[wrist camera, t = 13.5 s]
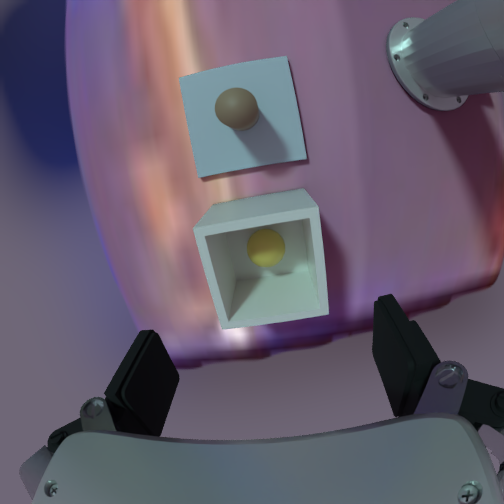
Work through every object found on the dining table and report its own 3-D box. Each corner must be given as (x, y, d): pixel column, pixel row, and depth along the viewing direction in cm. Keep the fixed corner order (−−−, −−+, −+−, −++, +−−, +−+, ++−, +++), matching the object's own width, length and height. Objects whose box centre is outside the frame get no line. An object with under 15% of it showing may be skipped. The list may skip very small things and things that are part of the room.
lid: (286, 58, 25) (290, 38, 19) (305, 158, 29) (315, 161, 23) (181, 79, 26) (161, 65, 20) (200, 176, 30) (184, 185, 24)
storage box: (303, 188, 29) (318, 206, 21) (314, 271, 33) (328, 314, 25) (212, 204, 31) (192, 228, 22) (232, 284, 34) (222, 329, 26)
